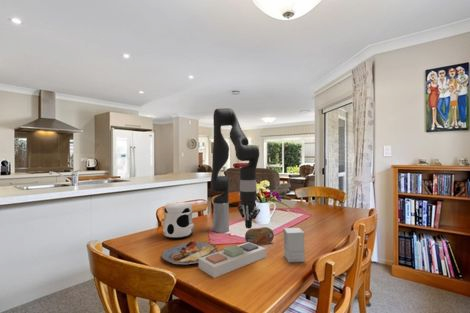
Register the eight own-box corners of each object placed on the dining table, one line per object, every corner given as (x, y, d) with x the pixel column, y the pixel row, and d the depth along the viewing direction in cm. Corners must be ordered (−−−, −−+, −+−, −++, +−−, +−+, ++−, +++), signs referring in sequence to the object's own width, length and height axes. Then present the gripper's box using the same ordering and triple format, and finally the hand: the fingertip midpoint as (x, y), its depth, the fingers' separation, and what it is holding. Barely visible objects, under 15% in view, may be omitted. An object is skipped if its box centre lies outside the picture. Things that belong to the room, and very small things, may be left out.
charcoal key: (239, 252, 113) (239, 246, 113) (249, 249, 117) (249, 242, 117) (248, 256, 108) (248, 249, 108) (258, 252, 112) (258, 246, 112)
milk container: (160, 234, 148) (159, 203, 147) (189, 229, 155) (188, 200, 155) (166, 243, 132) (166, 209, 132) (198, 237, 140) (197, 205, 140)
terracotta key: (206, 264, 101) (205, 256, 101) (218, 260, 105) (217, 253, 105) (214, 269, 96) (214, 261, 96) (226, 264, 100) (226, 257, 100)
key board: (198, 268, 102) (198, 258, 102) (248, 250, 120) (248, 242, 120) (214, 277, 93) (214, 267, 93) (265, 257, 111) (265, 248, 111)
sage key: (223, 255, 107) (223, 248, 107) (234, 251, 111) (234, 244, 111) (232, 259, 102) (232, 252, 102) (243, 255, 106) (243, 248, 106)
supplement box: (300, 255, 113) (299, 227, 113) (305, 262, 106) (304, 232, 106) (283, 255, 113) (283, 227, 113) (287, 262, 106) (287, 232, 106)
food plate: (194, 242, 132) (194, 235, 132) (227, 253, 117) (227, 245, 117) (152, 259, 113) (151, 251, 112) (185, 274, 98) (185, 266, 98)
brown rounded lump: (246, 246, 125) (246, 230, 125) (244, 244, 128) (244, 228, 128) (274, 243, 129) (273, 227, 129) (271, 241, 132) (271, 225, 132)
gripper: (232, 189, 115) (232, 226, 115) (252, 192, 105) (253, 233, 105) (244, 187, 120) (244, 223, 120) (264, 190, 110) (265, 229, 110)
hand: (248, 228), depth 112 cm, fingers closed
